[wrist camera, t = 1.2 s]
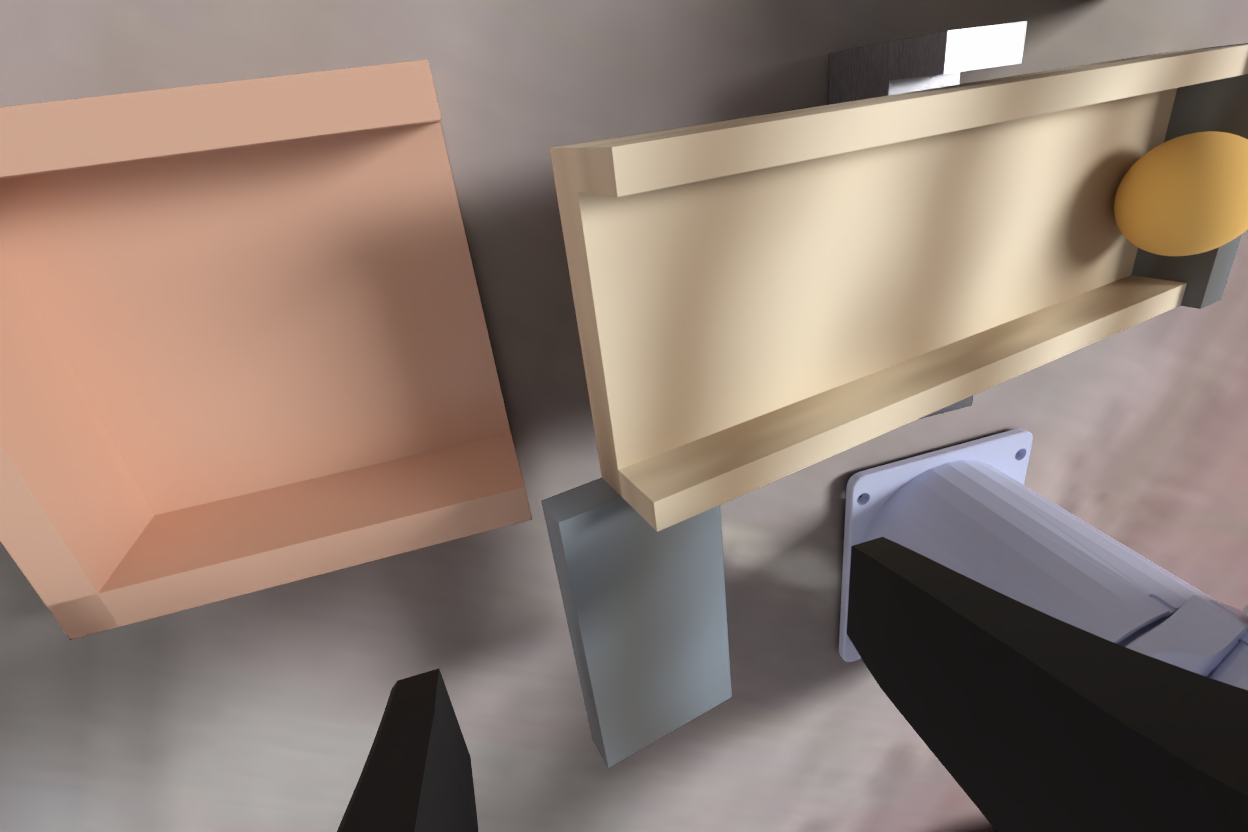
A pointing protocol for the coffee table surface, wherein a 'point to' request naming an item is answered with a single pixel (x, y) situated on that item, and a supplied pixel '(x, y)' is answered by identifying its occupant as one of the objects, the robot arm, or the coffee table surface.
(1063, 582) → the robot arm
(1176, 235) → the ball
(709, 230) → the lever
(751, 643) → the coffee table surface
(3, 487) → the tray
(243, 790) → the coffee table surface
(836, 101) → the fulcrum
